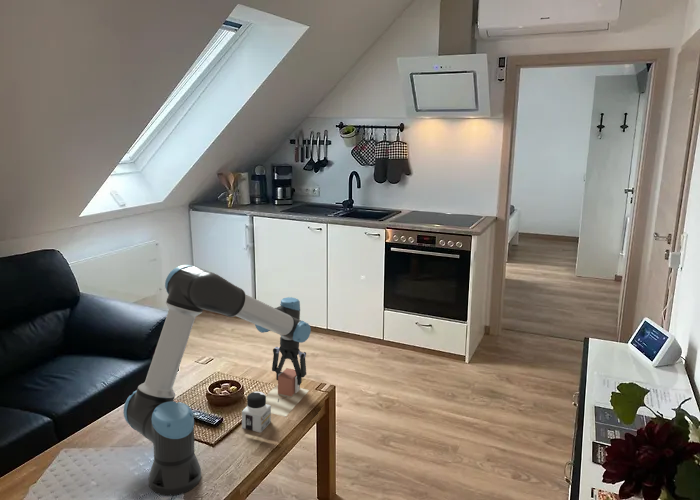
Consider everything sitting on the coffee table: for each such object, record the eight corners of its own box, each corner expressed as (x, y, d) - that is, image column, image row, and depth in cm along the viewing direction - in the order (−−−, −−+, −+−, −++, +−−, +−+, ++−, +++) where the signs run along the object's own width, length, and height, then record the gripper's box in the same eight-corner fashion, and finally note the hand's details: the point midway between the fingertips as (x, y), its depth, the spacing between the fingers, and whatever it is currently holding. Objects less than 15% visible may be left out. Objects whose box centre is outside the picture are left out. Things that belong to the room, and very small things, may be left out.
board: (285, 419, 199) (285, 416, 199) (252, 411, 203) (252, 408, 203) (309, 392, 219) (309, 389, 219) (278, 385, 224) (278, 383, 223)
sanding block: (291, 397, 212) (291, 379, 210) (277, 394, 214) (278, 376, 212) (299, 388, 220) (300, 370, 218) (286, 385, 221) (286, 368, 219)
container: (260, 435, 188) (261, 401, 185) (241, 430, 191) (241, 397, 188) (271, 424, 195) (271, 391, 192) (252, 419, 198) (252, 387, 195)
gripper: (316, 337, 211) (314, 390, 217) (271, 329, 217) (271, 380, 223) (308, 344, 204) (307, 398, 210) (262, 335, 210) (262, 388, 216)
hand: (288, 389), depth 216 cm, fingers open, 7 cm apart
